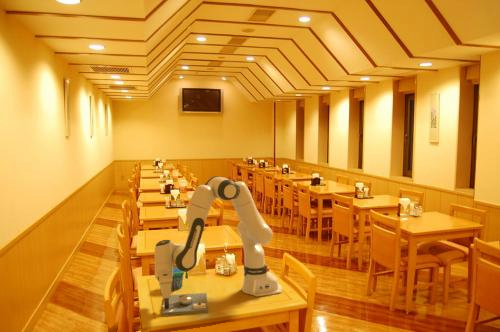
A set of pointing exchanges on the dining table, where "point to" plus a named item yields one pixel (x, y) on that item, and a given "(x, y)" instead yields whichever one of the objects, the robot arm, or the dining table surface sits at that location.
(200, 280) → the dining table surface
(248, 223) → the robot arm
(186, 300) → the ladle
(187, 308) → the board
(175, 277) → the snack cup
